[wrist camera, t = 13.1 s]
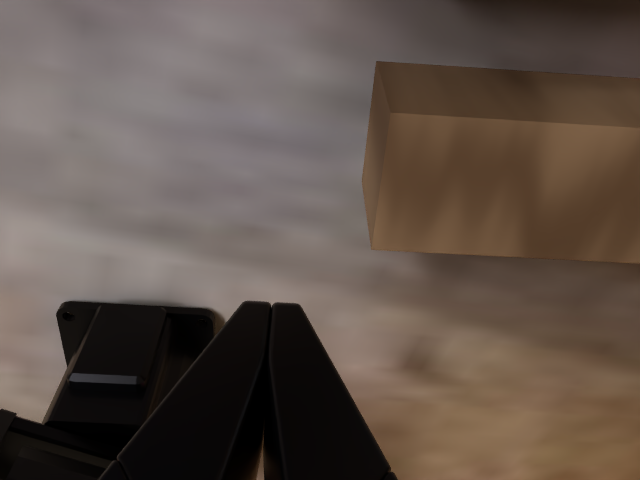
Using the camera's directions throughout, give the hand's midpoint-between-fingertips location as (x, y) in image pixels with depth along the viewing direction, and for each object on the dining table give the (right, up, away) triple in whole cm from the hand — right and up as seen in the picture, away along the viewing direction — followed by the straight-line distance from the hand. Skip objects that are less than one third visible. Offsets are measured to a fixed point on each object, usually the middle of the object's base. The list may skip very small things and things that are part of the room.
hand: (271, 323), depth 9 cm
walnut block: (+12, +4, +11) cm, 17 cm away
